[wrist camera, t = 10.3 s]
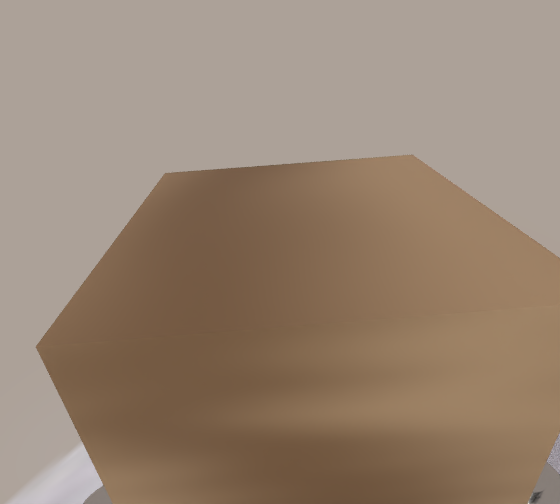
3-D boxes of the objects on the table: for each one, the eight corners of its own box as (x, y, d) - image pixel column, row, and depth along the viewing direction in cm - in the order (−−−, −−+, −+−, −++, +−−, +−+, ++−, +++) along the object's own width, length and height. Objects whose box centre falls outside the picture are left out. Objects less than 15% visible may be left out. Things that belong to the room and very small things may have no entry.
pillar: (376, 493, 13) (412, 154, 8) (433, 710, 9) (618, 300, 3) (235, 505, 13) (164, 173, 8) (224, 730, 9) (34, 346, 3)
